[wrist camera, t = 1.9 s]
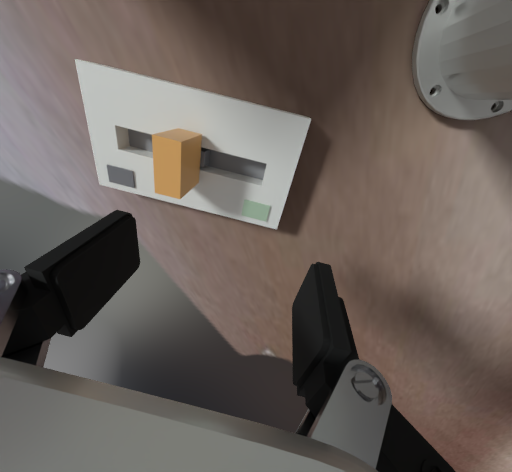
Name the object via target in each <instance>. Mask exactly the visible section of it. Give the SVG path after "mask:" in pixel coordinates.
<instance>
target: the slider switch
mask: <svg viewBox="0 0 512 472" xmlns="http://www.w3.org/2000/svg"><path fill="white" fill-rule="evenodd" d="M75 63H76V68H77V73H78V78H79V83H80V88H81V93H82V98H83V103H84V108H85V113H86V119H87V124H88V129H89V134H90V139H91V144H92V149H93V154H94V159H95V164H96V169H97V174H98V179H99V184H100V185H103V186H107V187H111V188H115V189H119V190H123V191H127V192H131V193H135V194H139V195H143V196H147V197H151V198H155V199H159V200H162V201H166V202H170V203H174V204H178V205H182V206H186V207H190V208H194V209H198V210H202V211H206V212H210V213H214V214H218V215H222V216H225V217H229V218H233V219H237V220H241V221H245V222H249V223H253V224H257V225H261V226H265V227H269V228H273V229H277V227H278V224H279V221H280V218H281V215H282V211H283V208H284V205H285V202H286V199H287V195H288V192H289V189H290V186H291V183H292V179H293V176H294V173H295V170H296V167H297V163H298V160H299V157H300V154H301V151H302V147H303V144H304V141H305V138H306V135H307V131H308V128H309V125H310V122H311V118H310V117H307V116H303V115H299V114H295V113H292V112H288V111H284V110H280V109H276V108H272V107H268V106H264V105H260V104H256V103H252V102H248V101H244V100H240V99H236V98H233V97H229V96H225V95H221V94H217V93H213V92H209V91H205V90H201V89H197V88H193V87H189V86H185V85H181V84H178V83H174V82H170V81H166V80H162V79H158V78H154V77H150V76H146V75H142V74H138V73H134V72H130V71H126V70H122V69H119V68H115V67H111V66H107V65H103V64H99V63H94V62H89V61H83V60H78V59H75ZM177 128H180V129H184V130H188V131H192V132H196V133H199V134H202V143H201V147H203V148H206V149H210V159H209V164H207V165H206V166H205V167H200V173H199V183H198V184H197V185H196V186H195V187H193V188H192V189H191V190H190V191H189V192H188V193H187V194H186V195H184V196H183V197H182V198H181V199H177V198H173V197H169V196H165V195H161V194H157V193H155V187H154V168H153V148H152V134H156V133H160V132H164V131H168V130H172V129H177Z"/></svg>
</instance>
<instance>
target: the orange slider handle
mask: <svg viewBox="0 0 512 472" xmlns="http://www.w3.org/2000/svg"><path fill="white" fill-rule="evenodd" d="M201 143H202V134H199V133H196V132H192V131H188V130H184V129H180V128H177V129H172V130H168V131H164V132H160V133H156V134H152V148H153V168H154V187H155V193H157V194H161V195H165V196H169V197H173V198H177V199H181V198H182V197H183V196H184V195H186V194H187V193H188V192H189V191H190V190H191V189H192V188H193V187H195V186H196V185H197V184H198V183H199V173H200V167H205V166H206V165H207V164H209V159H210V149H206V148H203V147H201Z"/></svg>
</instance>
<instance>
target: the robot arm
mask: <svg viewBox="0 0 512 472" xmlns="http://www.w3.org/2000/svg"><path fill="white" fill-rule="evenodd" d="M436 6H437V7H438V9H439V10H438V13H437V14H436V12H435V8H436ZM412 74H413V80H414V85H415V87H416V90H417V92H418V94H419V97H420V98H421V99H422V101H423V102H424V103H425V105H426V106H427V107H428V108H430V109H431V110H432V111H434V112H435V113H437V114H439V115H442V116H444V117H447V118H452V119H458V120H479V119H485V118H491V117H494V116H497V115H501V114H504V113H507V112H509V111H511V110H512V0H430V1H429V3H428V5H427V7H426V9H425V11H424V13H423V15H422V18H421V21H420V24H419V27H418V30H417V33H416V37H415V42H414V47H413V52H412ZM431 89H433V92H432V93H431V94H430V91H431ZM139 265H140V257H139V248H138V238H137V229H136V220H135V218H134V217H133V216H132V214H130V213H127V212H123V211H119V210H116V211H114V212H112V213H110V214H109V215H107V216H106V217H104V218H102V219H101V220H99V221H98V222H96V223H95V224H93V225H92V226H90V227H88V228H86V229H85V230H83V231H82V232H80V233H78V234H77V235H75V236H74V237H72V238H70V239H69V240H67V241H66V242H64V243H62V244H61V245H59V246H58V247H56V248H54V249H53V250H51V251H50V252H48V253H46V254H45V255H43V256H41V257H40V258H38V259H37V260H35V261H33V262H32V263H30V264H29V265H27V266H26V267H24V268H25V270H26V272H25V273H23V274H22V275H20V273H18V272H16V271H14V270H8V269H6V270H0V472H455V471H454V469H453V468H452V467H451V466H450V465H449V464H448V463H447V462H446V461H445V460H444V459H443V458H442V456H441V455H440V454H439V453H438V452H437V451H436V450H435V449H434V448H433V447H432V446H431V445H430V444H429V443H428V442H427V441H426V440H425V439H424V438H423V436H422V435H421V434H420V433H419V432H418V431H417V430H416V429H415V428H414V427H413V426H412V425H411V424H410V423H409V422H408V421H407V420H406V419H405V418H404V417H403V415H402V414H401V413H400V412H399V411H398V410H397V409H396V408H395V407H394V406H393V405H392V395H391V391H390V387H389V385H388V383H387V381H386V380H385V378H384V377H383V376H382V374H381V373H380V372H379V371H378V370H377V369H376V368H375V367H374V366H372V365H371V364H369V363H368V362H365V361H362V360H359V358H358V354H357V350H356V346H355V342H354V339H353V335H352V331H351V327H350V324H349V320H348V316H347V312H346V308H345V305H344V301H343V299H342V298H340V297H338V294H337V290H336V286H335V282H334V277H333V273H332V269H331V266H330V265H328V264H324V263H321V262H317V263H316V264H312V265H311V266H310V268H309V270H308V273H307V275H306V277H305V279H304V281H303V283H302V285H301V287H300V290H299V292H298V294H297V296H296V298H295V300H294V302H293V307H292V342H293V384H294V385H296V386H297V395H298V396H303V397H305V399H306V406H307V407H308V408H309V409H308V411H307V413H306V415H305V416H304V418H303V420H302V422H301V424H300V426H299V427H298V429H297V431H296V433H291V432H288V431H284V430H281V429H277V428H274V427H270V426H267V425H263V424H259V423H256V422H252V421H248V420H244V419H241V418H237V417H233V416H229V415H226V414H222V413H218V412H214V411H210V410H207V409H203V408H199V407H195V406H191V405H188V404H184V403H179V402H176V401H172V400H168V399H164V398H161V397H156V396H153V395H149V394H145V393H141V392H137V391H133V390H130V389H125V388H122V387H118V386H114V385H110V384H106V383H102V382H98V381H94V380H91V379H87V378H82V377H79V376H75V375H70V374H66V373H62V372H58V371H55V370H51V369H47V368H43V366H44V362H45V359H46V355H47V352H48V347H49V344H50V340H51V337H52V336H53V335H54V334H55V333H56V332H57V333H58V334H61V335H65V336H69V337H72V336H73V335H74V334H75V333H76V332H77V331H78V330H81V329H83V328H84V327H85V326H86V325H87V324H88V323H89V322H90V321H91V320H92V318H93V317H94V316H95V315H96V314H97V313H98V312H99V311H100V310H101V309H102V307H103V306H104V305H105V304H106V303H107V302H108V301H109V300H110V299H111V298H112V296H113V295H114V294H115V293H116V292H117V291H118V290H119V289H120V288H121V287H122V285H123V284H124V283H125V282H126V281H127V280H128V279H129V278H130V277H131V276H132V275H133V273H134V272H135V271H136V270H137V269H138V267H139Z"/></svg>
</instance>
